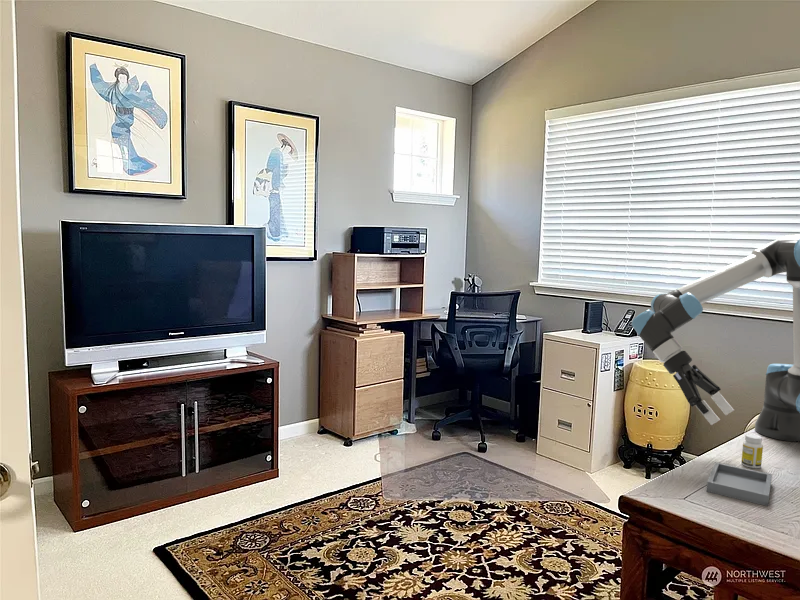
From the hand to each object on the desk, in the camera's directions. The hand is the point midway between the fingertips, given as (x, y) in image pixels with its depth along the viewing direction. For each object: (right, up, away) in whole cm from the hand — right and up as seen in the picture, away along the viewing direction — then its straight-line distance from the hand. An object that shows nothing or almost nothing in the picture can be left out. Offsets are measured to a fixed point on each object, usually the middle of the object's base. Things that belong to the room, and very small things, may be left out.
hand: (723, 417), depth 169 cm
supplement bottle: (+6, -13, -3) cm, 14 cm away
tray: (-6, -14, -19) cm, 24 cm away
